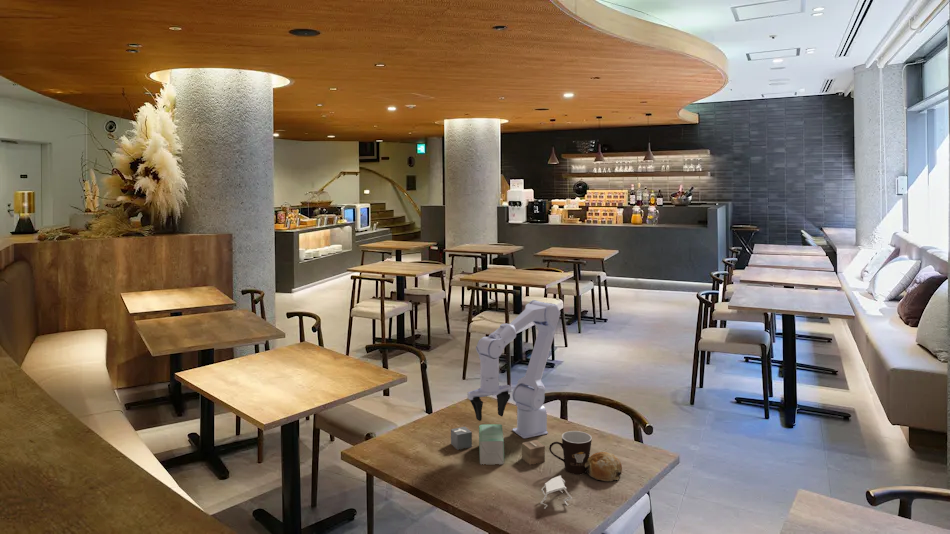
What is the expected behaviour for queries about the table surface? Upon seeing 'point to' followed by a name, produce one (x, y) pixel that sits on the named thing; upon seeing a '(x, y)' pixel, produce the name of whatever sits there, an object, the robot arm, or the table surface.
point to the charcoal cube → (461, 438)
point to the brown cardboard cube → (533, 452)
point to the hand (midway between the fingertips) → (489, 417)
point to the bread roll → (604, 466)
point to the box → (491, 444)
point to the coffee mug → (574, 451)
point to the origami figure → (555, 488)
